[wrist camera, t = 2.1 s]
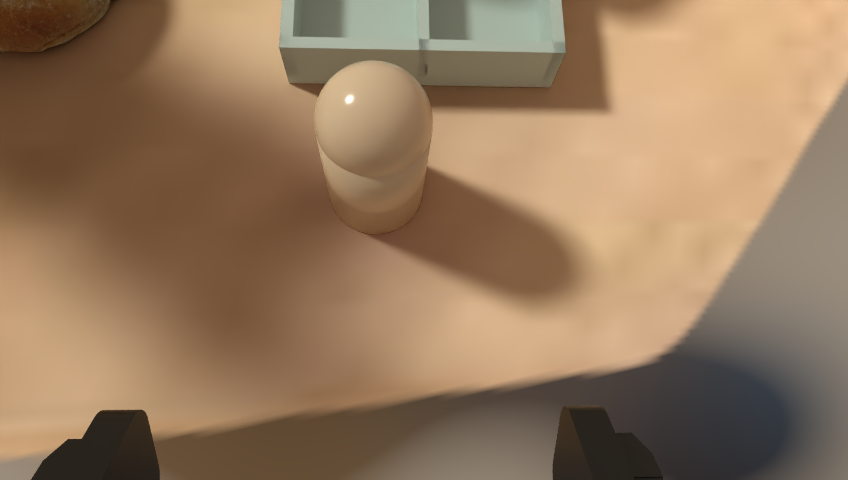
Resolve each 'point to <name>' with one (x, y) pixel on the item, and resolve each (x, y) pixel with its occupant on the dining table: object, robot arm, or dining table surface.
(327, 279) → the dining table surface
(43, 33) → the bread roll
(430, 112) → the cream dome-topped cylinder
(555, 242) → the dining table surface
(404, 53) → the carton
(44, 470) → the robot arm
